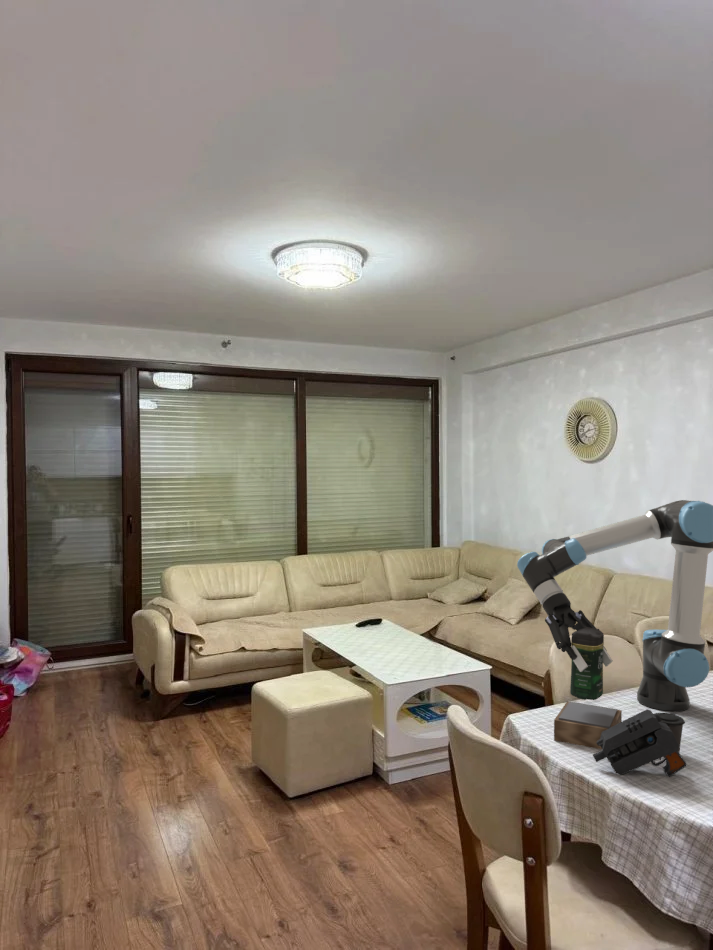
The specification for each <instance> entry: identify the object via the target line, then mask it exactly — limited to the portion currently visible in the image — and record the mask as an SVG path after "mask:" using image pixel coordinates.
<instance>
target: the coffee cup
mask: <svg viewBox="0 0 713 950" xmlns="http://www.w3.org/2000/svg"><path fill="white" fill-rule="evenodd" d="M656 713H657V714H658V715H659V717H660V719H661V721H660V722H663V723H666V724H667V726H668V727H669V728H670V730H671V731H672V733H673V735H674V737H675V738H676V740H677V742H678V744H679V748H678V751H677V752H678V753H679V754H680V752H681V751H680V750H681V742H682V735H683V726H684V725H685V724H686V722H685V720H684V718H682V716H679V715H676V714H675V713H672V712H656Z"/></svg>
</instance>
